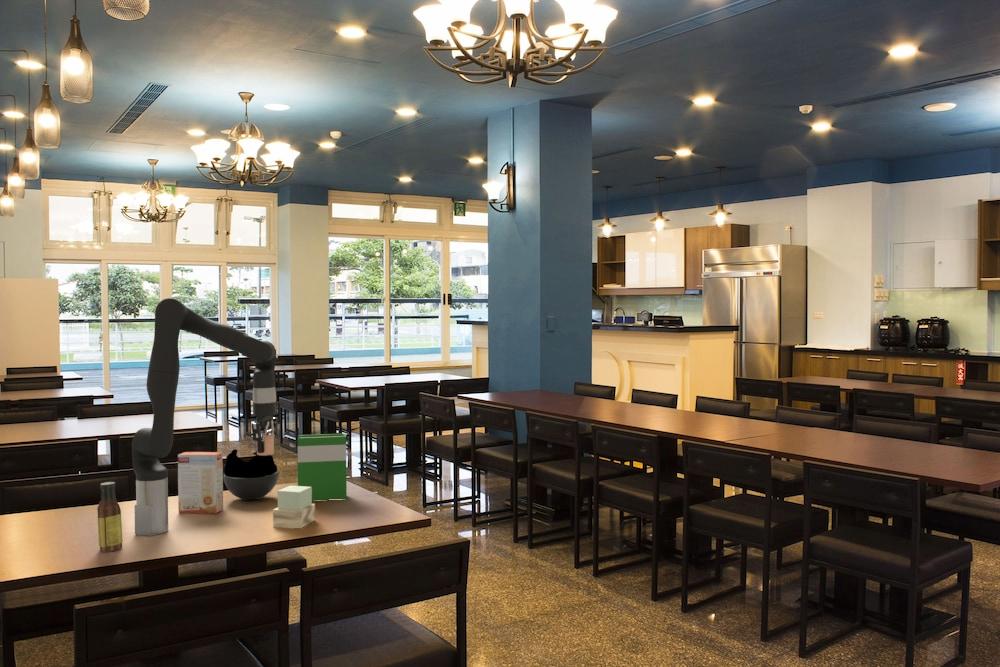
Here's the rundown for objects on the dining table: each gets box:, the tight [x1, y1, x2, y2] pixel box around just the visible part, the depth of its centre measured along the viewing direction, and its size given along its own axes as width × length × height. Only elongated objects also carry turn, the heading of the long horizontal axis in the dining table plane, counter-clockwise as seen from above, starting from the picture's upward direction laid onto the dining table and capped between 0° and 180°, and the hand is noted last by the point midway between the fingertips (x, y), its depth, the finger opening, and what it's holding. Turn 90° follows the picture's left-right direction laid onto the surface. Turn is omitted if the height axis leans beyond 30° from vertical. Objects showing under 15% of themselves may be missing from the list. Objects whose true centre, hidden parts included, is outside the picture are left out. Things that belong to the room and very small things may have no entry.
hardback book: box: [297, 433, 348, 501], centre depth 287 cm, size 18×7×24 cm, turn 103°
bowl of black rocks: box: [223, 449, 280, 501], centre depth 287 cm, size 20×20×19 cm
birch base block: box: [272, 503, 316, 529], centre depth 253 cm, size 10×10×6 cm
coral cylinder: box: [257, 435, 275, 456], centre depth 255 cm, size 6×6×6 cm
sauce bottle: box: [96, 481, 123, 553], centre depth 225 cm, size 6×6×20 cm
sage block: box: [277, 485, 313, 510], centre depth 252 cm, size 8×8×6 cm
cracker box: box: [177, 451, 224, 514], centre depth 269 cm, size 14×6×21 cm, turn 84°
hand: (265, 450), depth 255 cm, fingers closed on coral cylinder, 5 cm apart
